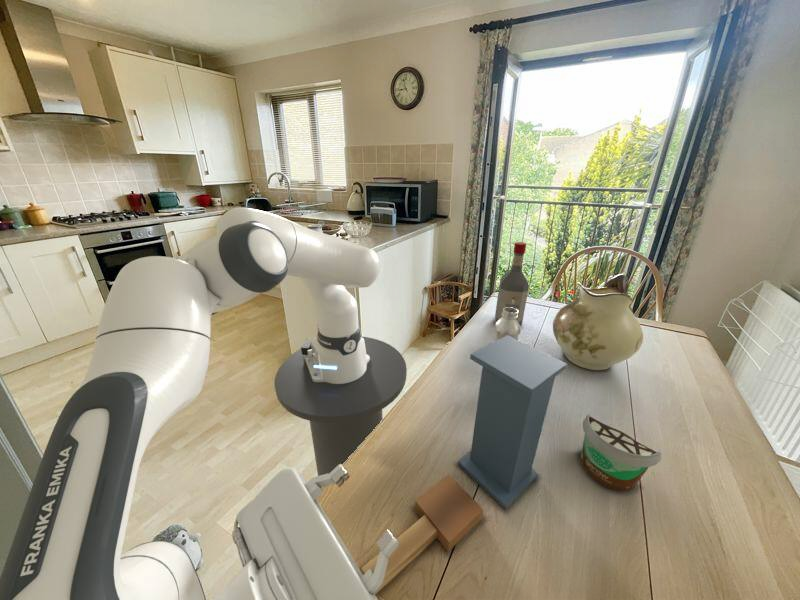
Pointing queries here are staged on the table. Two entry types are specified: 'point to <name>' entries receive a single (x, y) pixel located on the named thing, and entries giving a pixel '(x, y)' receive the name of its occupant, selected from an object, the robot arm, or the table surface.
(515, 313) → the plastic bottle
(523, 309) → the liquor
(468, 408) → the table surface
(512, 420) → the pedestal stand
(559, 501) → the table surface
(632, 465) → the food container
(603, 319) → the pitcher
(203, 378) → the robot arm
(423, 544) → the mallet
